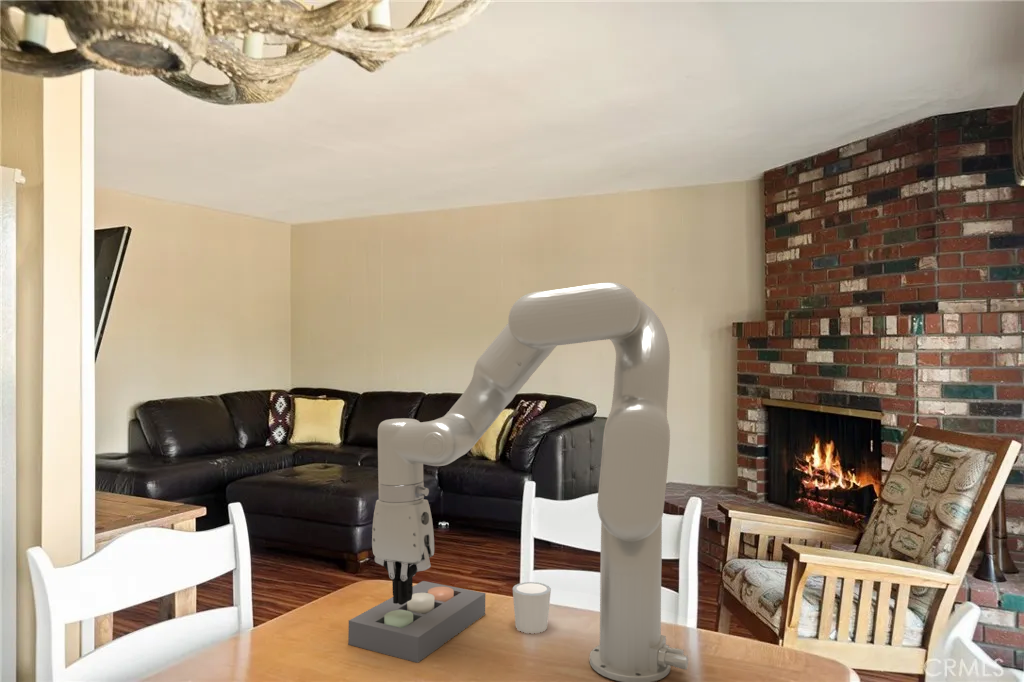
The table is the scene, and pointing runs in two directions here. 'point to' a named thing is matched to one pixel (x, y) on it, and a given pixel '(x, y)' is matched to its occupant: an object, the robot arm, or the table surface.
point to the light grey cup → (531, 606)
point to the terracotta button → (442, 593)
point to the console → (416, 624)
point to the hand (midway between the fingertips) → (402, 601)
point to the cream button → (421, 603)
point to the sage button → (398, 618)
